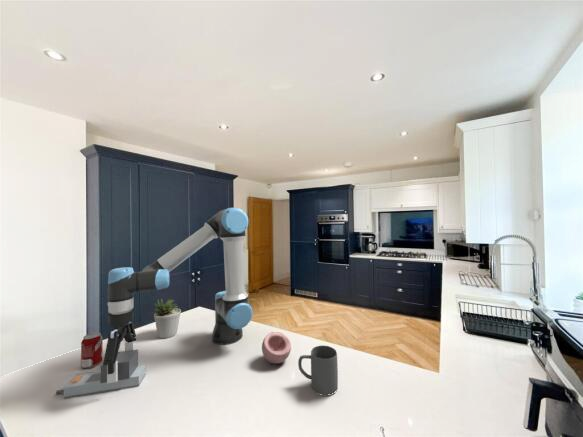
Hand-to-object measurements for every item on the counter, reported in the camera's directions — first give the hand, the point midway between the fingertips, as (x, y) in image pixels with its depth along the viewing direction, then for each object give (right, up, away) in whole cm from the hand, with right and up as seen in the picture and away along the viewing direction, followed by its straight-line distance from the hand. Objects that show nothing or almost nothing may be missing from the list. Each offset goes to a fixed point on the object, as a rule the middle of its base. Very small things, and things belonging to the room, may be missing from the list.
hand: (121, 370), depth 85 cm
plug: (0, -3, 0) cm, 3 cm away
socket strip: (-6, -5, -2) cm, 8 cm away
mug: (+71, -4, -4) cm, 71 cm away
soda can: (-21, -6, +12) cm, 25 cm away
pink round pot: (+56, -4, +12) cm, 57 cm away
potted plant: (-4, -6, +38) cm, 39 cm away
